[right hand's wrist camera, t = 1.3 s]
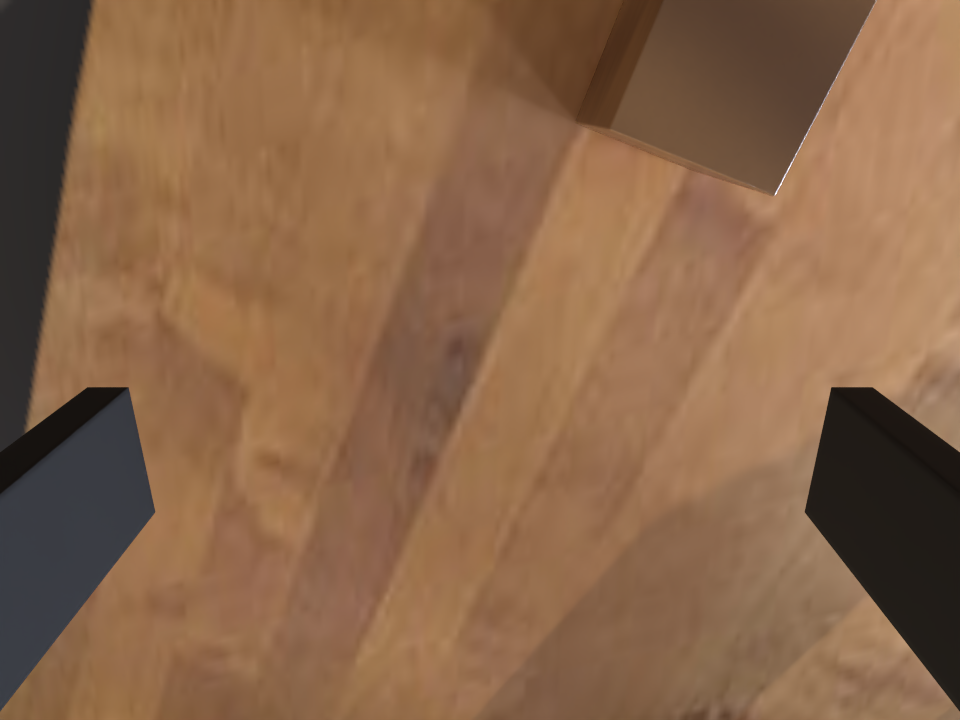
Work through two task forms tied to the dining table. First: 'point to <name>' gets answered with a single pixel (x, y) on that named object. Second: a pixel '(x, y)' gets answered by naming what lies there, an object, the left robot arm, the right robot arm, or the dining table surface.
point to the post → (721, 81)
